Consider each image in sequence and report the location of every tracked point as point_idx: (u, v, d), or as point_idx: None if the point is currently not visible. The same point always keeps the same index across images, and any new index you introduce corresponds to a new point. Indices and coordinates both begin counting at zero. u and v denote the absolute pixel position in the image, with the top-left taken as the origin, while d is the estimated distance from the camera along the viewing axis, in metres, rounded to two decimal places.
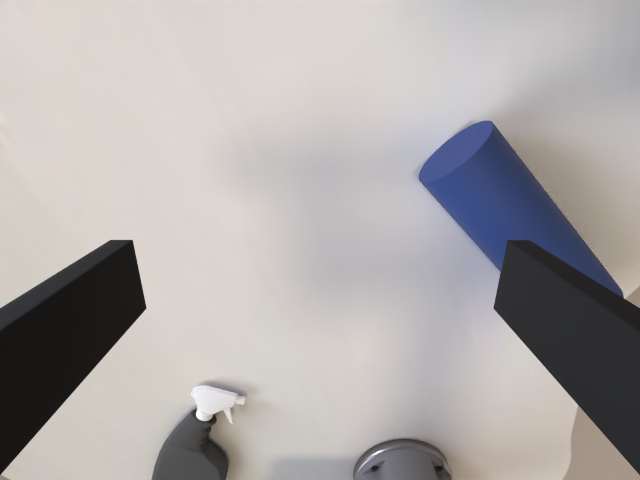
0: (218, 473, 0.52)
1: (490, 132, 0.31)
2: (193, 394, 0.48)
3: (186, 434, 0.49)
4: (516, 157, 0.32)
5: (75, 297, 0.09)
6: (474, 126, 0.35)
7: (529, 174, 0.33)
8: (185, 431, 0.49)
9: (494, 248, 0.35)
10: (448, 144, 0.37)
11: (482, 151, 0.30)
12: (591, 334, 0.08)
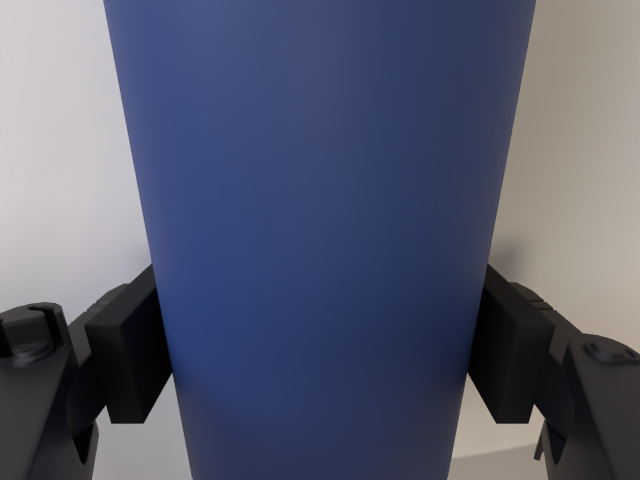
0: None
1: None
2: None
3: None
4: None
5: None
6: None
7: None
8: None
9: None
10: None
11: None
12: None
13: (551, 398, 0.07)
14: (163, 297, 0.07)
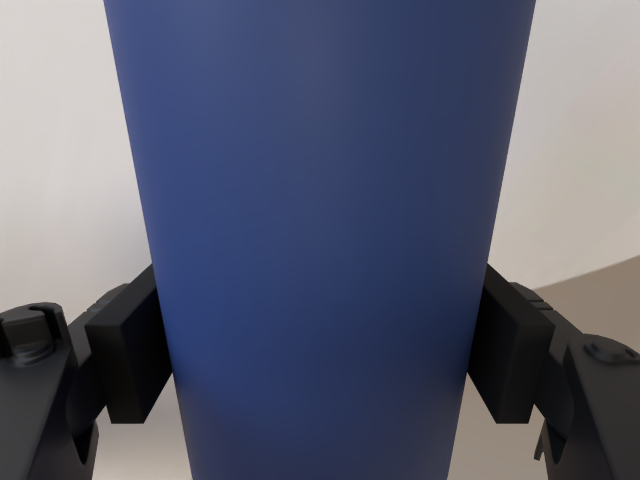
0: None
1: None
2: None
3: None
4: None
5: None
6: None
7: None
8: None
9: None
10: None
11: None
12: None
13: (551, 398, 0.07)
14: (163, 297, 0.07)
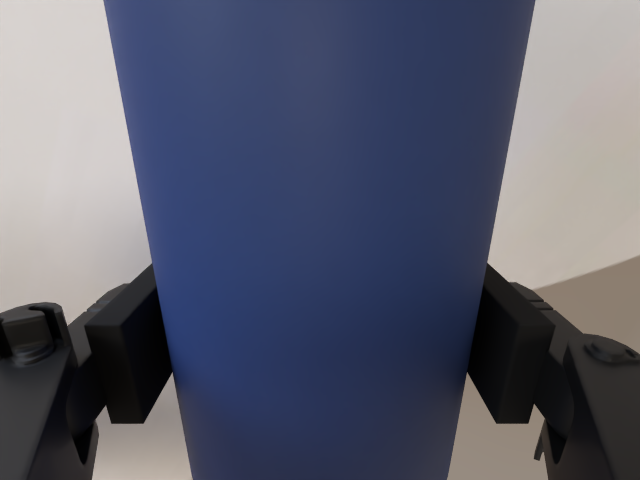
0: None
1: None
2: None
3: None
4: None
5: None
6: None
7: None
8: None
9: None
10: None
11: None
12: None
13: (551, 398, 0.07)
14: (163, 297, 0.07)
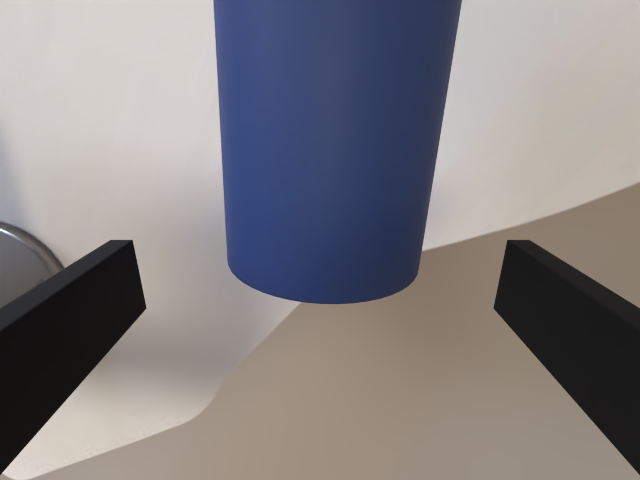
0: None
1: None
2: None
3: None
4: None
5: (75, 297, 0.09)
6: None
7: None
8: None
9: None
10: None
11: None
12: (591, 334, 0.08)
13: None
14: (230, 106, 0.11)
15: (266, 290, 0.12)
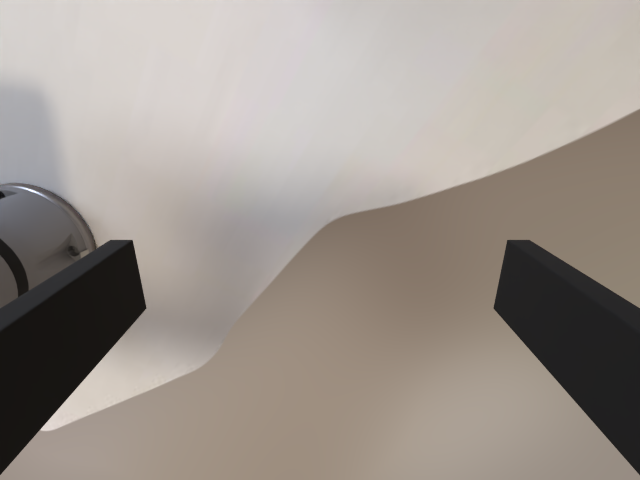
0: None
1: None
2: None
3: None
4: None
5: (75, 297, 0.09)
6: None
7: None
8: None
9: None
10: None
11: None
12: (591, 334, 0.08)
13: None
14: None
15: None
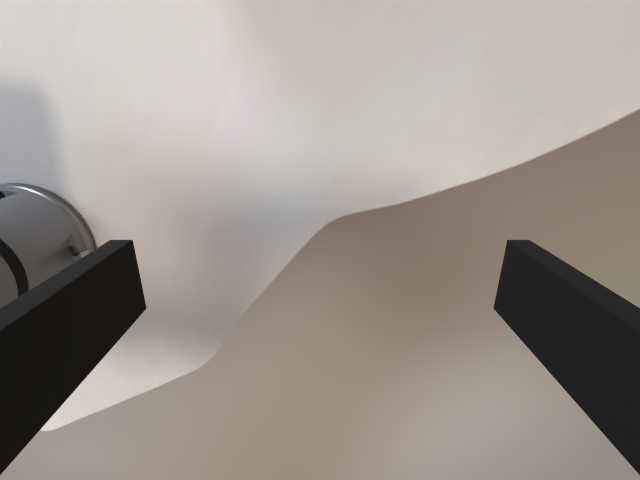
0: None
1: None
2: None
3: None
4: None
5: (75, 297, 0.09)
6: None
7: None
8: None
9: None
10: None
11: None
12: (591, 334, 0.08)
13: None
14: None
15: None
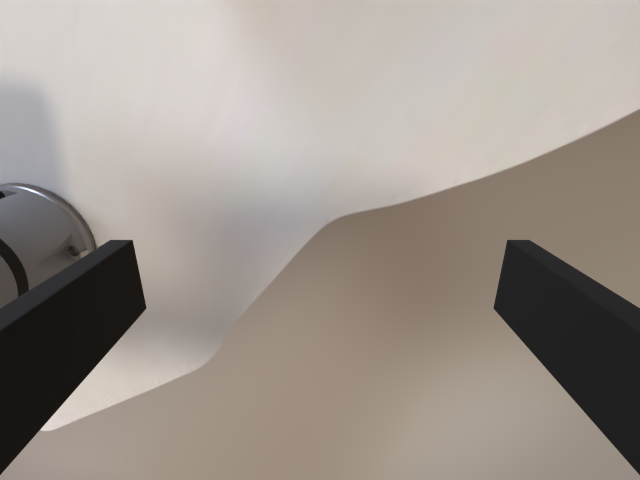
0: None
1: None
2: None
3: None
4: None
5: (75, 297, 0.09)
6: None
7: None
8: None
9: None
10: None
11: None
12: (591, 334, 0.08)
13: None
14: None
15: None
